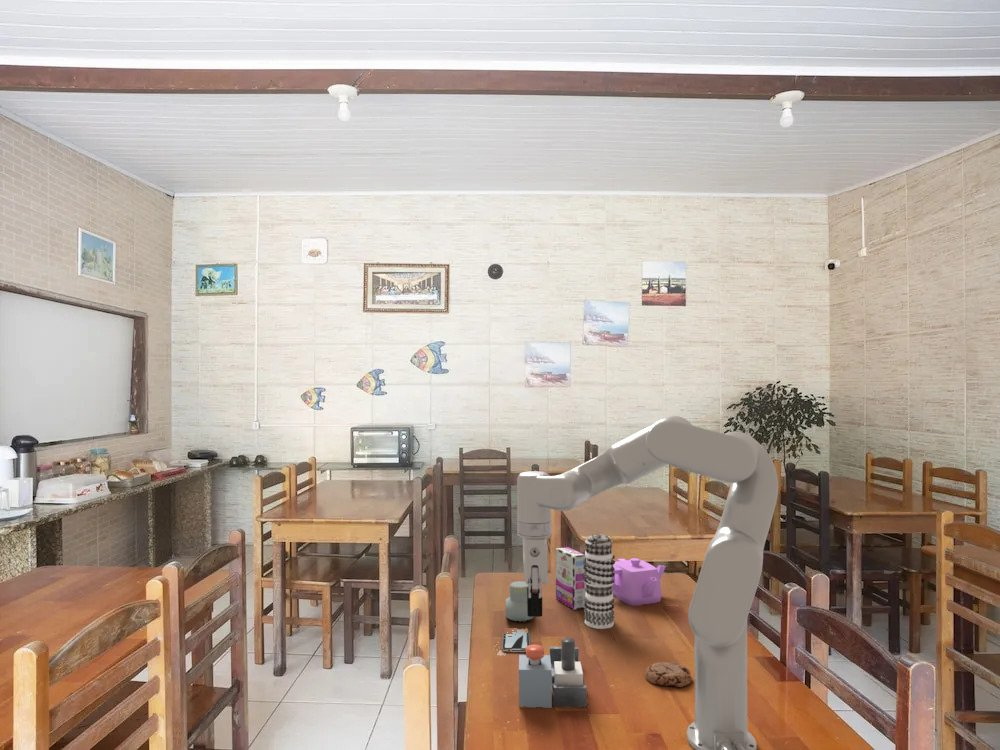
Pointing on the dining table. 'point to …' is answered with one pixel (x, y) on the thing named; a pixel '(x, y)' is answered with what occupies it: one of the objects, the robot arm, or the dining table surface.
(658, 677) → the cookie
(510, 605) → the air freshener
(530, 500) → the robot arm
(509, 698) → the dining table surface
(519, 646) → the smartphone
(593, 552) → the decorative candle
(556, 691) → the rail
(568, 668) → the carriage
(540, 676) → the button housing
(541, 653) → the button
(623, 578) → the teakettle
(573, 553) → the candy bar box
